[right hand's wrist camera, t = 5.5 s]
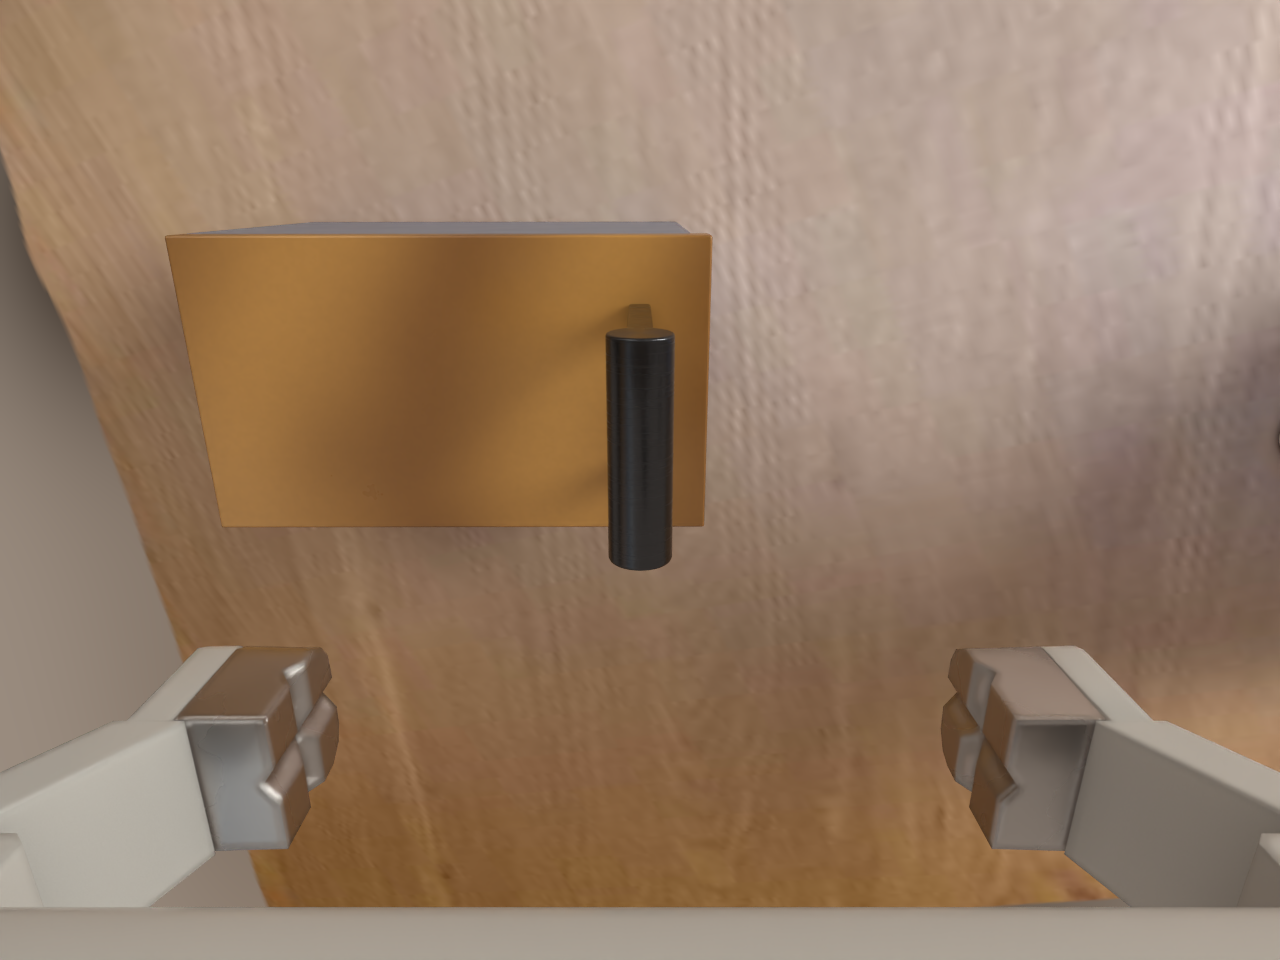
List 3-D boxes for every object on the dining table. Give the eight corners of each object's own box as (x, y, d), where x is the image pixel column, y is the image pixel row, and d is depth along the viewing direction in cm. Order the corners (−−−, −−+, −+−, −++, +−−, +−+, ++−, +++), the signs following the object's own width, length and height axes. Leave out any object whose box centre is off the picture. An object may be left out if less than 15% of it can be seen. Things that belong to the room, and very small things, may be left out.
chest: (676, 221, 35) (691, 233, 25) (673, 430, 39) (686, 514, 29) (313, 222, 35) (184, 233, 25) (341, 431, 39) (237, 514, 29)
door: (709, 233, 25) (742, 251, 17) (701, 514, 29) (725, 637, 21) (183, 233, 25) (-23, 252, 17) (236, 515, 29) (84, 638, 21)
